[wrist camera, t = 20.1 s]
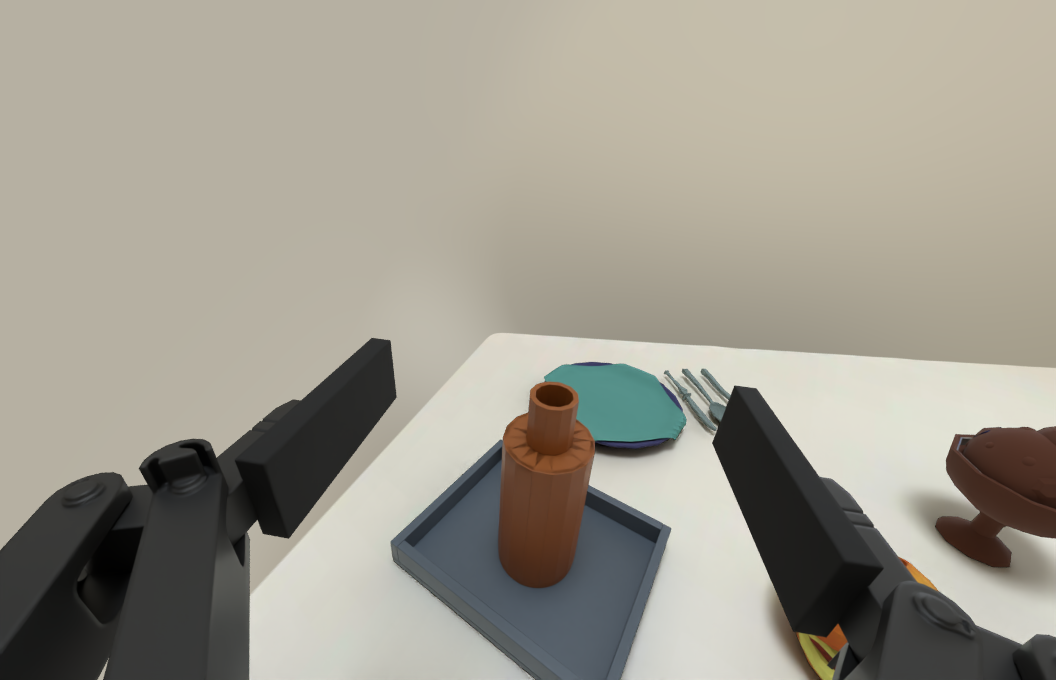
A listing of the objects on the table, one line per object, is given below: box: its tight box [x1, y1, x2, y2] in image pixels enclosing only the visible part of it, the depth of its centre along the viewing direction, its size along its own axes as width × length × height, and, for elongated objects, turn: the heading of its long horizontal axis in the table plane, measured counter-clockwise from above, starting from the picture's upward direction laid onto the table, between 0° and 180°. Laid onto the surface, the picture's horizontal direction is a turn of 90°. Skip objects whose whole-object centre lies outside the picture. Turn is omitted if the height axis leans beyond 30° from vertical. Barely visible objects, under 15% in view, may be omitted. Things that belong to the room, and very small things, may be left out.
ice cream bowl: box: [935, 426, 1056, 567], centre depth 35 cm, size 11×11×15 cm
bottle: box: [498, 382, 595, 588], centre depth 30 cm, size 7×7×17 cm
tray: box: [391, 440, 671, 680], centre depth 34 cm, size 20×16×3 cm
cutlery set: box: [544, 362, 731, 449], centre depth 55 cm, size 20×30×2 cm, turn 97°
